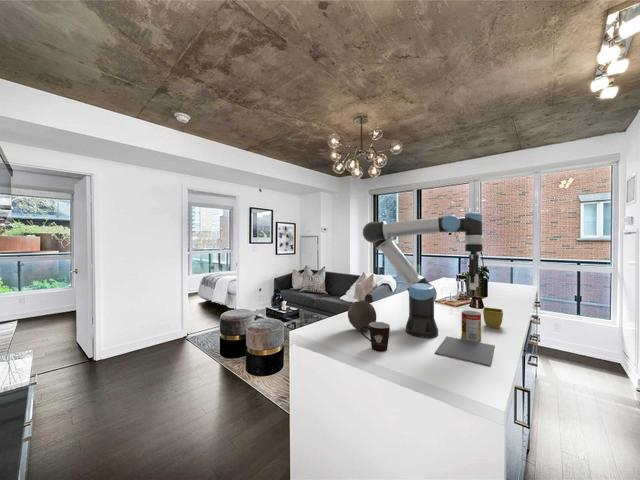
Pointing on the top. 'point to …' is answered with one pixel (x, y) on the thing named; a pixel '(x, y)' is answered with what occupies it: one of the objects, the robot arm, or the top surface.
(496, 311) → the flower pot
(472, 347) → the mat
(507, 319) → the top surface
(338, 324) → the top surface
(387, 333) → the coffee mug
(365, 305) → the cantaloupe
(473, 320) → the canned food
